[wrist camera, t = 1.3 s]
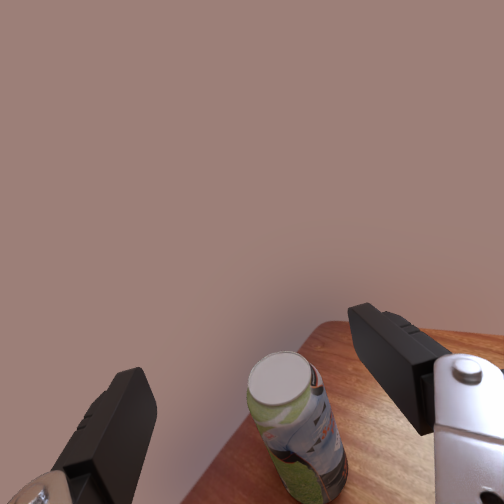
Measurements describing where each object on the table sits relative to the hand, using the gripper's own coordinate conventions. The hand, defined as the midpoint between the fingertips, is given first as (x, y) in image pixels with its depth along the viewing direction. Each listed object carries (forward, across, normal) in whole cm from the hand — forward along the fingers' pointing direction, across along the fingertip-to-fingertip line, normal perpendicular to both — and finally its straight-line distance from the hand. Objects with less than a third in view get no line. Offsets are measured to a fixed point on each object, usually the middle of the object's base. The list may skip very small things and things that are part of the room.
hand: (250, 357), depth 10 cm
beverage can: (+10, -1, +20) cm, 22 cm away
